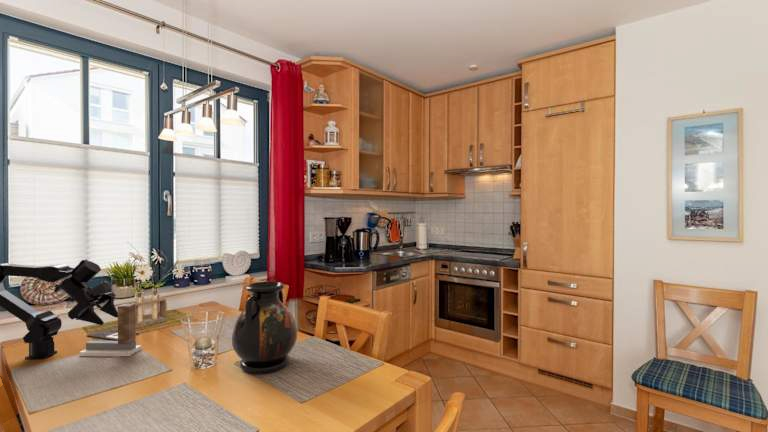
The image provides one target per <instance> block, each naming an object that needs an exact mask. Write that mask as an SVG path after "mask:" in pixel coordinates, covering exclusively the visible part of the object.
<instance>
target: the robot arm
mask: <svg viewBox="0 0 768 432" xmlns="http://www.w3.org/2000/svg"><path fill="white" fill-rule="evenodd" d="M101 270H102V268H101V267H100V266H99V264H98V263H95V262H94V261H90V260H88V259H86V258H85V259H82V260H81V261H79V263H78V264H77V265H76V266H75V267H71V266H69V265H68V264H65V263H60V264H51V265H30V264H14V263H9V262H5V263H4V262H3V263H0V307H1V308H2V309H4V311H7V312H8V313H9V314H11V315H12V316H14V317H16V318H17V319H18V320H20V321H22V322H23V323H24V324H25V327H26V329H27V331H28V332H27V333H26V334H24V336H23V337H22V340H23V342H24V344H28V355H27V356H25V357H24V359H26V360H31V359H32V360H33V359H35V360H42V359H44V358H48V357H49V356H52V355H54V354H56V353H58V350H55V341H54V336H57V335H58V334H59V330H61V328H62V322H63V321H62V319H61V318H59V317H60V316H59V315H57V314H55V313H54V312H53V311H51V310H46V311H44V312H42V311H38V310H37V309H36V308H34V307H32V306H31V305H29V304H27V303H26V302H25V301H23V300H21V299H20V298H19V297H17V296H16V295H14V294H12V293H11V292H9V291H8V290H6V288H5V286H4V283H3V281H5V280H6V278H7V277H22V278H23V277H24V278H35V279H38V280H40V281H42V282H47V283H56V284H54V287H55V288H54V291H53V292H54V293H58V292H62V291H63V292H64V293H65V294H66V295H68V297H70V298H71V299H69V302H71V303H73V302H75V303H76V305H74V306H73V307H72V308H71V309H70V310H69V311H68V312H67V317H68V318H69V319H70V320H71V321H72V320H76V321H82V322H88V323H92V324H95V325H99V326H103V325H104V323H105V322H104V321H103V319H102V318H101V317H100V316H99V315H98V314H97V313H96V312H95V310H94V309H95V307H96V308H98V309H99V311H100V312H101V311H102V312H103V313H105V314H108V315H110V316H112V317H114V318H115V319H116V318H117V319H118V309H117V308H116V306H115V303H114V302H115V300H116V296H117V295H116V294H115V293H114V292H113V291H112V290H113V289H112V285H113V284H112V283H111V282H109V281H108V280H104V281H101V282H100V283H99V284H98V285H97V286H94V287H93V286H87V285H86V284H85V283H89V282H90V281H91V280H92V279H93V278H94V277H95V276H96V275H97V274H99V273H100V272H101ZM60 281H61V282H60ZM57 282H60V283H57Z"/></svg>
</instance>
